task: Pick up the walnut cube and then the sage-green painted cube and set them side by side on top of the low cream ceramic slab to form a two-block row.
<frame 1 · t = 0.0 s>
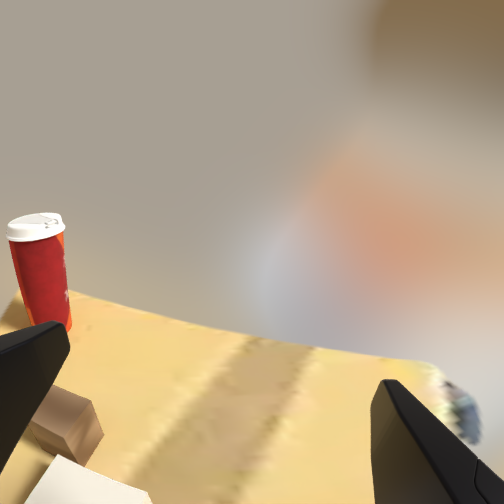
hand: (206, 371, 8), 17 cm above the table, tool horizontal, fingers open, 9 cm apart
paper cup: (52, 327, 33), on the table
walnut cube: (73, 443, 19), on the table
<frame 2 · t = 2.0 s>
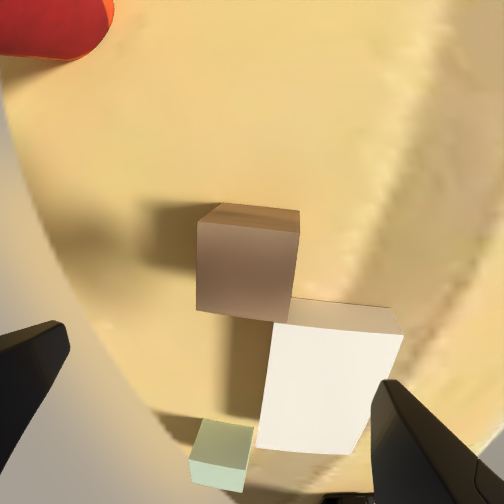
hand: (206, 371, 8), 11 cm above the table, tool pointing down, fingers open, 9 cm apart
paper cup: (82, 25, 14), on the table
sage cube: (227, 436, 24), on the table
base slab: (319, 373, 20), on the table
walnut cube: (257, 243, 18), on the table
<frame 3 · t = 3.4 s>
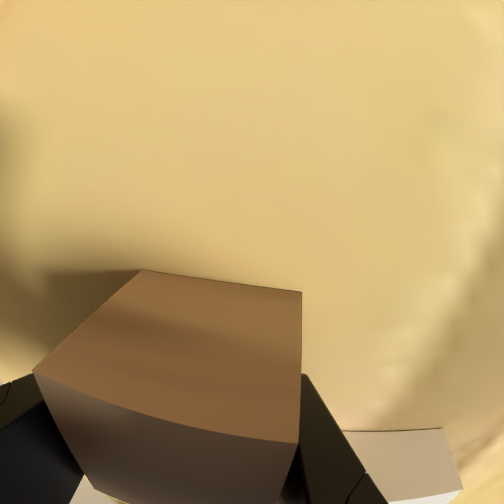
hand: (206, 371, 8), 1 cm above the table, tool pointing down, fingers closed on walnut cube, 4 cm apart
base slab: (322, 497, 11), on the table
walnut cube: (215, 348, 9), on the table, touching gripper
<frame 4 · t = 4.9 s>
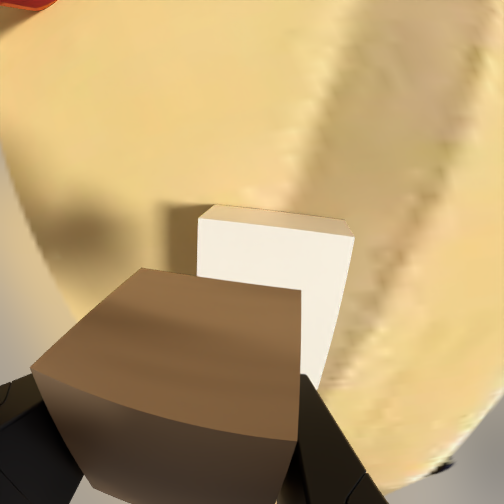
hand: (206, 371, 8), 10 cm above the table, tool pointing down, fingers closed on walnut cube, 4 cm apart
base slab: (268, 303, 18), on the table
walnut cube: (214, 346, 9), point 9 cm above the table, touching gripper
when the fingers open (5 cm above the table, at t = 6.4 s): walnut cube drops 1 cm, resting on base slab.
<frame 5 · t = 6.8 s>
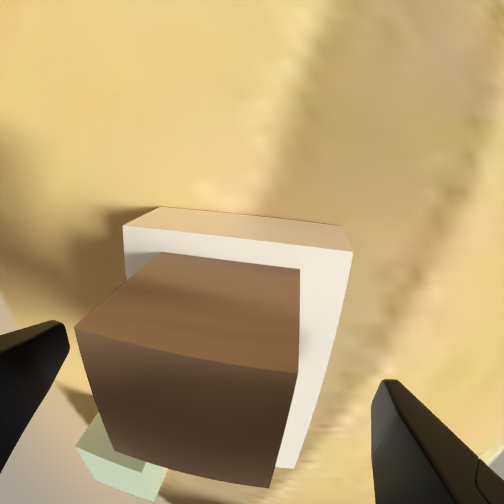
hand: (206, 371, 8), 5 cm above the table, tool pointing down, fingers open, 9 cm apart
sage cube: (141, 427, 17), on the table
base slab: (238, 337, 14), on the table
walnut cube: (224, 321, 10), point 3 cm above the table, touching base slab
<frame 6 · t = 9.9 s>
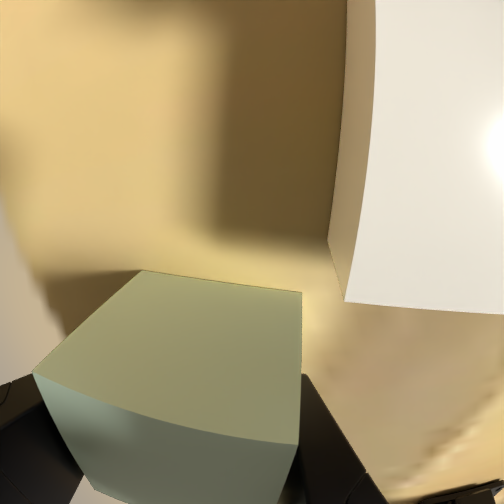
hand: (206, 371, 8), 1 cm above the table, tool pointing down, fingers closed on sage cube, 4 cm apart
sage cube: (215, 348, 9), on the table, touching gripper
base slab: (478, 49, 5), on the table
when the fingers open (5 cm above the table, at t = 12.9 s): sage cube drops 1 cm, resting on base slab.
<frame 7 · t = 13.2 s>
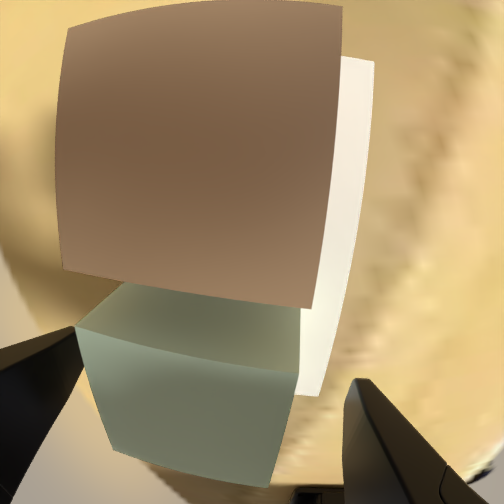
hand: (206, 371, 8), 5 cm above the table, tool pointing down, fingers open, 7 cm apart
sage cube: (224, 321, 10), point 3 cm above the table, touching base slab
base slab: (246, 217, 12), on the table
walnut cube: (235, 144, 8), point 3 cm above the table, touching base slab
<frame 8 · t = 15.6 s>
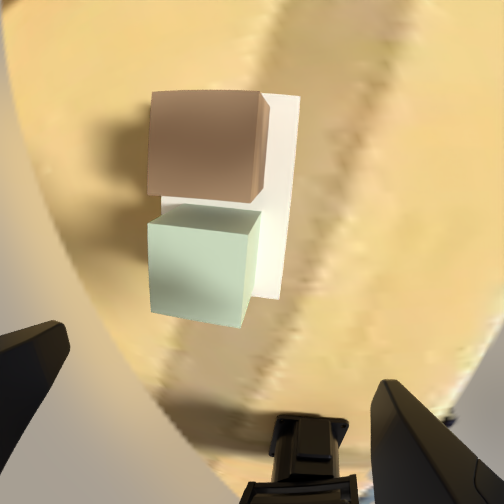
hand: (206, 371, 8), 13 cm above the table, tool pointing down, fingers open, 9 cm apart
sage cube: (219, 244, 17), point 3 cm above the table, touching base slab
base slab: (234, 188, 19), on the table
walnut cube: (225, 144, 15), point 3 cm above the table, touching base slab
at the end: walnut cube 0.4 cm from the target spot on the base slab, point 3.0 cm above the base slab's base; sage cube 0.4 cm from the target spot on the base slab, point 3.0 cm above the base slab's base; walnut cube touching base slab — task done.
